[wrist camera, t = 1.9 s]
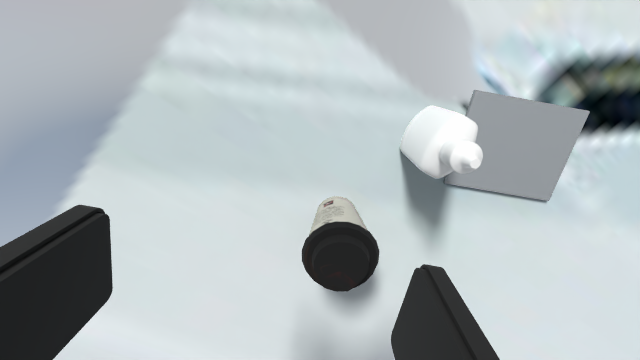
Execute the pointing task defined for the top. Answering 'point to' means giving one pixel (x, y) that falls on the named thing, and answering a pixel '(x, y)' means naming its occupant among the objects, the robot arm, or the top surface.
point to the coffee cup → (339, 247)
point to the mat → (520, 144)
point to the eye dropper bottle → (442, 142)
